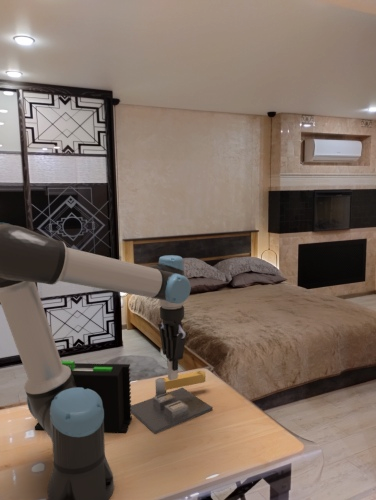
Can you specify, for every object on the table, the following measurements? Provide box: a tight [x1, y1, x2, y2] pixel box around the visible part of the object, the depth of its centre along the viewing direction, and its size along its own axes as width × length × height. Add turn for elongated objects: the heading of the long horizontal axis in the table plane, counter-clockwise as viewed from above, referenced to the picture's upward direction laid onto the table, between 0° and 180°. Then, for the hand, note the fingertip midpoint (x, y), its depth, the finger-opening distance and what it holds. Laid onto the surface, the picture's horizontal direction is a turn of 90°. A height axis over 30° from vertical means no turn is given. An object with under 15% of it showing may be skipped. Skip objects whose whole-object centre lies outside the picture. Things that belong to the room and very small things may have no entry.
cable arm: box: [155, 370, 206, 396], centre depth 140 cm, size 18×4×6 cm, turn 112°
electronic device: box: [34, 360, 133, 435], centre depth 124 cm, size 28×11×20 cm, turn 86°
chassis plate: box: [130, 387, 214, 434], centre depth 131 cm, size 22×18×4 cm
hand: (172, 378), depth 127 cm, fingers closed
